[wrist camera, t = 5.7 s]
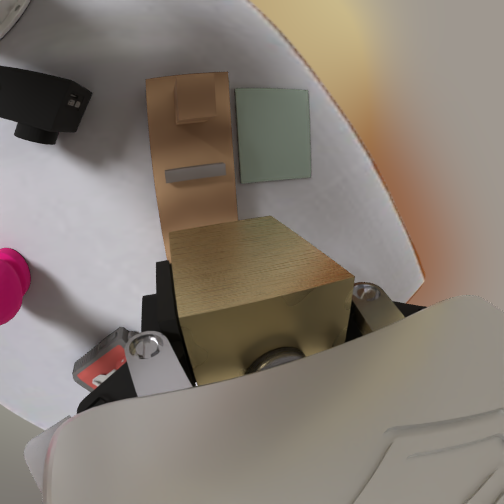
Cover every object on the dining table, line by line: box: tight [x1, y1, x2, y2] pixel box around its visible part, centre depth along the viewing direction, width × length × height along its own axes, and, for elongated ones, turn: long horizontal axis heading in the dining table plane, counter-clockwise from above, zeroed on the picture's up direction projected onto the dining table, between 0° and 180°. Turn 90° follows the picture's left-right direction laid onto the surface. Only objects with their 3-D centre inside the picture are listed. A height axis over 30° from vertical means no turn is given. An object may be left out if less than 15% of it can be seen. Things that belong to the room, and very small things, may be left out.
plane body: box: [146, 72, 238, 263], centre depth 23 cm, size 24×7×10 cm, turn 3°
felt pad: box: [235, 88, 311, 184], centre depth 27 cm, size 10×8×1 cm
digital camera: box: [0, 66, 92, 145], centre depth 16 cm, size 10×5×7 cm, turn 64°
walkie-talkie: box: [72, 327, 137, 392], centre depth 31 cm, size 9×4×20 cm
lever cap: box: [169, 216, 355, 386], centre depth 10 cm, size 5×4×7 cm
